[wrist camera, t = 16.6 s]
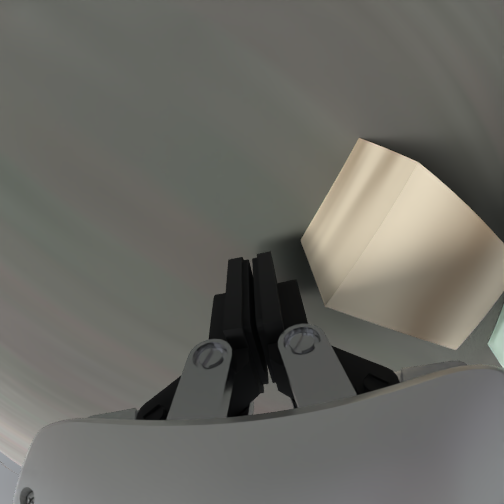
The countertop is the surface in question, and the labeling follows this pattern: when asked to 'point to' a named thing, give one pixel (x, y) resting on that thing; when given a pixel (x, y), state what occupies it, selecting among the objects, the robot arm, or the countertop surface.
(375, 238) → the block
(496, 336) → the tray
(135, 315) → the countertop surface
